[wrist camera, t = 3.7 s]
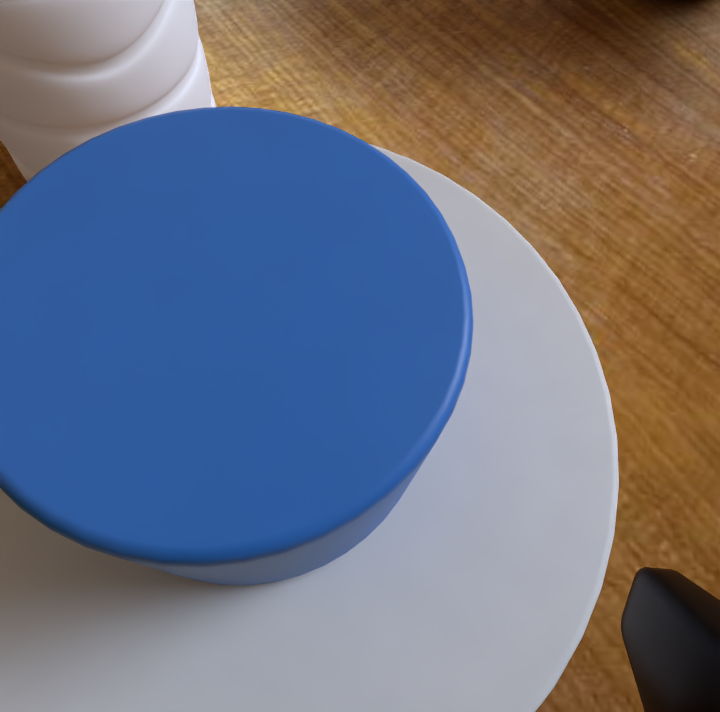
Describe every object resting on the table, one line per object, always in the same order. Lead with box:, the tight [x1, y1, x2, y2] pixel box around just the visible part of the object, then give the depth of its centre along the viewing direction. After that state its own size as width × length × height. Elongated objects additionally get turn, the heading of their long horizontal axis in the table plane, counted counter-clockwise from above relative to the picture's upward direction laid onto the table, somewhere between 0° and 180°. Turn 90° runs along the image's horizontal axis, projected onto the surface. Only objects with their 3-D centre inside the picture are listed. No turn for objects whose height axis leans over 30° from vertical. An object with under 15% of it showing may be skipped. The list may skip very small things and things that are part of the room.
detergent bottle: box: [0, 107, 619, 712], centre depth 9 cm, size 6×6×14 cm
